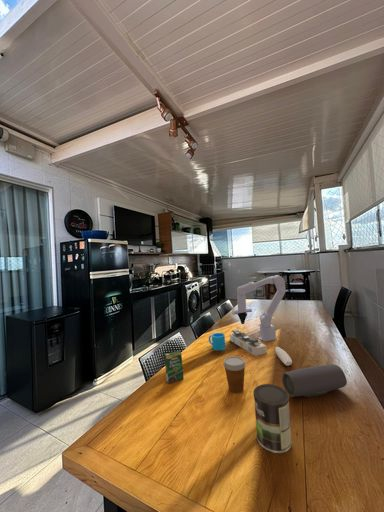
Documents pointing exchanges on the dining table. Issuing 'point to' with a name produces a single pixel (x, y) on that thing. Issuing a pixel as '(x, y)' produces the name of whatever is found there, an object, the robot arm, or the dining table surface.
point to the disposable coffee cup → (235, 373)
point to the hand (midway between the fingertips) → (242, 323)
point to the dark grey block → (236, 332)
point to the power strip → (249, 345)
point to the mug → (218, 341)
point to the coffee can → (272, 418)
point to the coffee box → (173, 366)
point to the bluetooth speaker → (314, 380)
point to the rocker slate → (253, 340)
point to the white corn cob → (283, 356)
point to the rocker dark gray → (244, 336)
